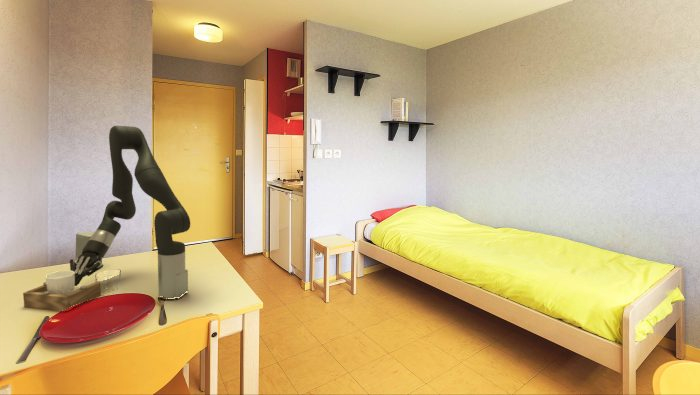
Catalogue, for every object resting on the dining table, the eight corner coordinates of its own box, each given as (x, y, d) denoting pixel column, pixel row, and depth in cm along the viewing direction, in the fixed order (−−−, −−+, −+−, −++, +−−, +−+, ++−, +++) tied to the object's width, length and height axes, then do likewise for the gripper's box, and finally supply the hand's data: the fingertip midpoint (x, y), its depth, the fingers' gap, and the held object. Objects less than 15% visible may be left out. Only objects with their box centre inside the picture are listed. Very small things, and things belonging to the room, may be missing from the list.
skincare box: (74, 268, 151) (72, 233, 149) (91, 263, 157) (89, 230, 155) (88, 271, 148) (86, 236, 146) (104, 266, 155) (103, 232, 153)
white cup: (43, 302, 119) (40, 275, 117) (69, 294, 126) (68, 268, 124) (53, 308, 115) (51, 280, 114) (80, 299, 122) (79, 273, 121)
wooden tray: (101, 294, 127) (100, 280, 126) (66, 311, 113) (65, 295, 113) (62, 290, 129) (61, 276, 128) (24, 306, 115) (22, 290, 114)
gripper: (77, 237, 132) (48, 279, 122) (108, 240, 131) (81, 282, 120) (90, 246, 138) (63, 287, 128) (120, 249, 137) (95, 290, 126)
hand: (72, 285), depth 124 cm, fingers closed
